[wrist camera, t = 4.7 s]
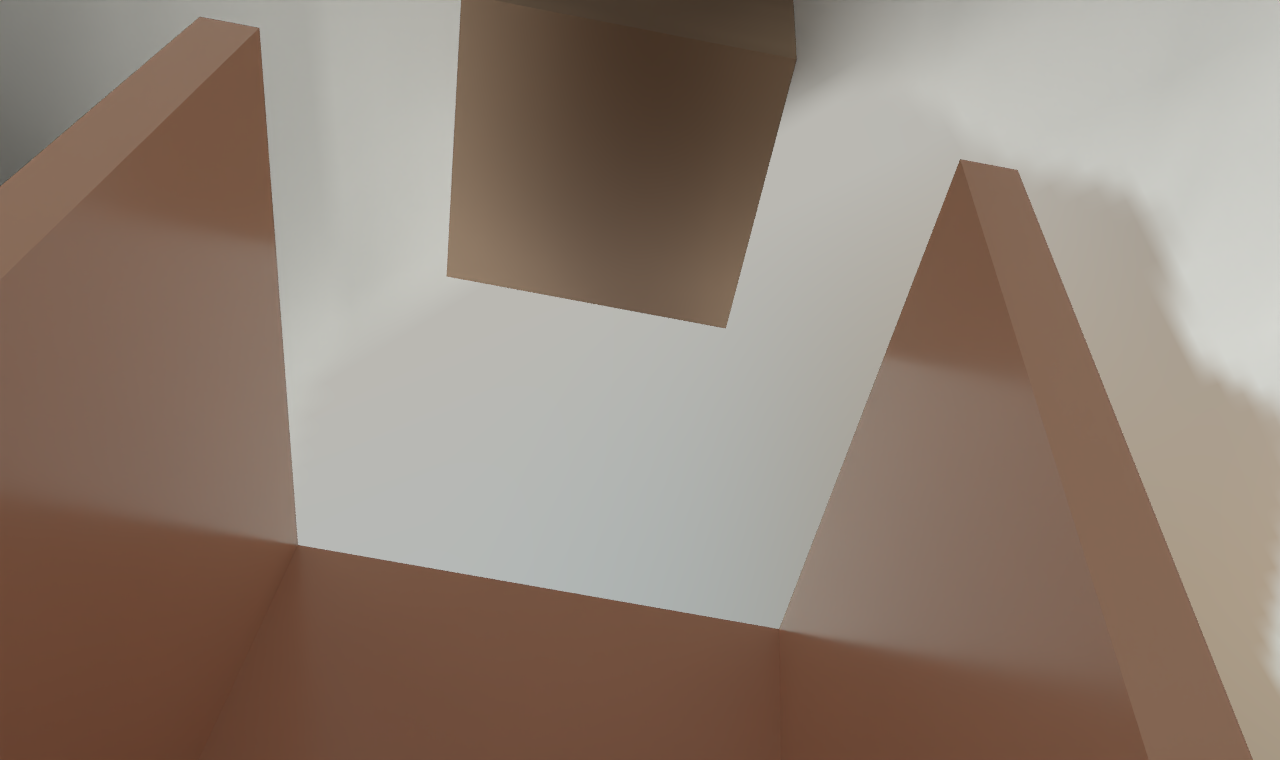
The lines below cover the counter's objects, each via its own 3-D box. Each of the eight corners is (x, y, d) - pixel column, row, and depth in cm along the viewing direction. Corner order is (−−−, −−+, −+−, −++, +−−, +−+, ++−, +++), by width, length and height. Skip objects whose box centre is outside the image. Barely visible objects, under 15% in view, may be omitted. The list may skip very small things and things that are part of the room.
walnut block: (508, 134, 20) (446, 276, 16) (529, -108, 17) (461, -6, 14) (733, 177, 20) (725, 328, 16) (790, -56, 18) (796, 58, 14)
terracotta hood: (260, 564, 13) (-140, 1380, 7) (198, 16, 9) (-909, 962, 3) (808, 660, 13) (841, 1530, 8) (1017, 169, 9) (1484, 1344, 3)
